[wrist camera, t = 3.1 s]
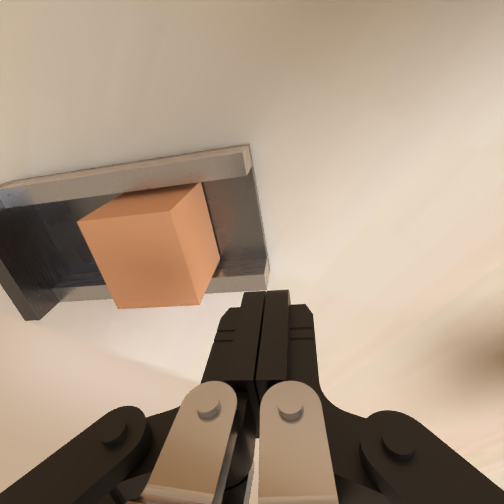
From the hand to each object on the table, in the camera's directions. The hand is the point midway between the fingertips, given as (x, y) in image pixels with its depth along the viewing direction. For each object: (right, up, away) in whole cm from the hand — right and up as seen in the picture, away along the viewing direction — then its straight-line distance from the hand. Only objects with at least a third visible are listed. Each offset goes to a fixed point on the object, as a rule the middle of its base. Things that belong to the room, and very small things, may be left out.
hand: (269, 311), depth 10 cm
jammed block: (-6, +4, +10) cm, 12 cm away
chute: (-8, +4, +11) cm, 14 cm away
